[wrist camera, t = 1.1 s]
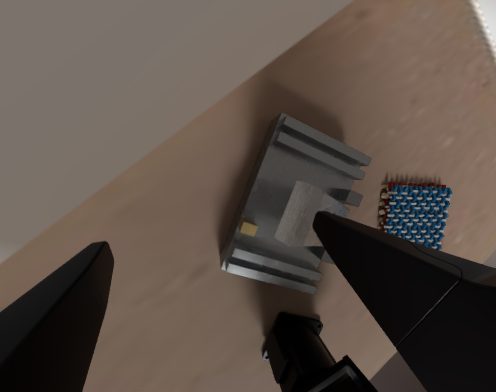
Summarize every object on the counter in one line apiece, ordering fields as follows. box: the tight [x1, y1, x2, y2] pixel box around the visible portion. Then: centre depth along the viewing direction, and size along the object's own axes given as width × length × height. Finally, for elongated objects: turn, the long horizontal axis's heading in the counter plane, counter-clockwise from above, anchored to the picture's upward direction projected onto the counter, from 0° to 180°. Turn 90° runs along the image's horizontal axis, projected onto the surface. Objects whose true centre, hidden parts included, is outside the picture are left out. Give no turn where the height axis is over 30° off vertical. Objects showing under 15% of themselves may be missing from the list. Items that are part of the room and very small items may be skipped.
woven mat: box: [377, 182, 452, 251], centre depth 25 cm, size 10×11×2 cm
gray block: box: [274, 181, 350, 247], centre depth 15 cm, size 10×4×1 cm
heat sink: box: [220, 112, 372, 294], centre depth 19 cm, size 10×16×5 cm, turn 158°
